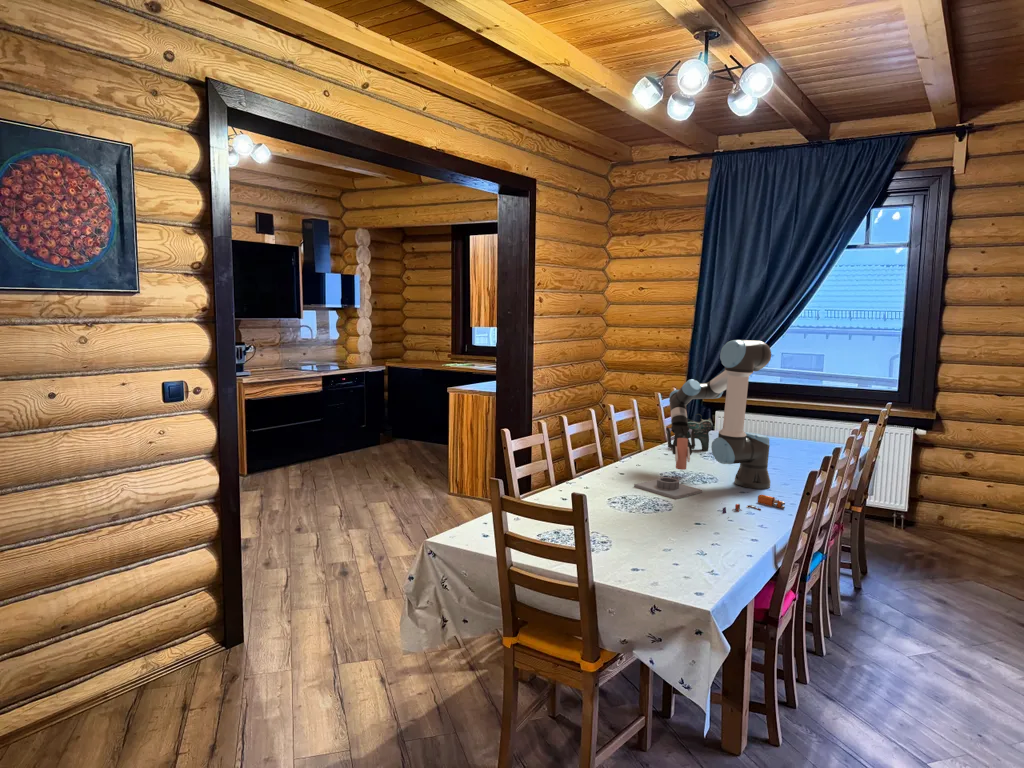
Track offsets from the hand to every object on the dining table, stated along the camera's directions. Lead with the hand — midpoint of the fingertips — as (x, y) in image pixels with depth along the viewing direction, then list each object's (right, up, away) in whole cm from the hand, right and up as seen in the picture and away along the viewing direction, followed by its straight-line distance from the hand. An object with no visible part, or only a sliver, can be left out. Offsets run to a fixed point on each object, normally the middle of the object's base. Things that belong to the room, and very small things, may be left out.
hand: (682, 460), depth 308 cm
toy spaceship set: (+14, -16, -47) cm, 52 cm away
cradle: (-11, -10, -19) cm, 25 cm away
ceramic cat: (+22, -2, +66) cm, 69 cm away
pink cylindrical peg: (0, -4, +4) cm, 6 cm away
